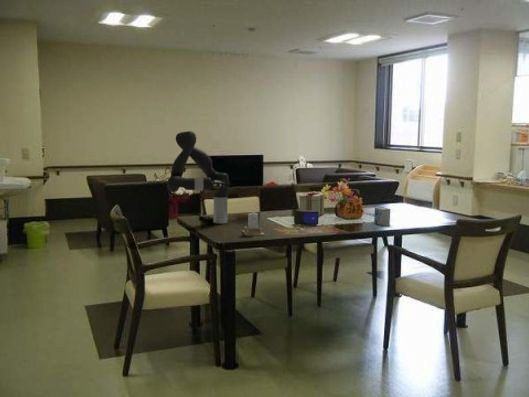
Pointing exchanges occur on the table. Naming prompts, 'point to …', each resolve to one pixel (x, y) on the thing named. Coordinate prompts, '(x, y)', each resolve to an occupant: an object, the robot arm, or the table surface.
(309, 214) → the black and blue box
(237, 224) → the table surface
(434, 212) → the table surface
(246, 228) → the chassis board
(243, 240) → the table surface
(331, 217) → the table surface
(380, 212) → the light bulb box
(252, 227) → the servo block
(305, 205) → the gift box
